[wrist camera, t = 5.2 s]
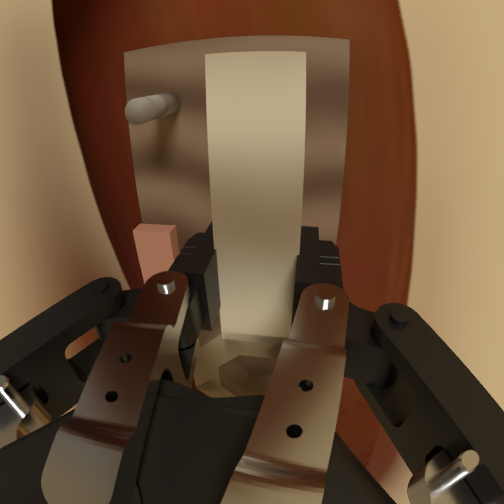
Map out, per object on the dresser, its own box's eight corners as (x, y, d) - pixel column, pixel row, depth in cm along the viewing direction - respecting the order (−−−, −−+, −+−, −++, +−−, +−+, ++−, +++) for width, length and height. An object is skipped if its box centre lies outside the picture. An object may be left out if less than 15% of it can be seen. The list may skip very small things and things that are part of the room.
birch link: (316, 368, 17) (314, 420, 14) (216, 358, 17) (200, 406, 14) (348, 67, 9) (366, 57, 6) (194, 66, 10) (152, 61, 7)
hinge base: (129, 52, 21) (83, 51, 16) (347, 41, 19) (362, 27, 13) (157, 272, 32) (130, 312, 27) (328, 287, 30) (330, 336, 24)
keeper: (163, 201, 27) (132, 230, 22) (195, 201, 26) (169, 232, 22) (173, 268, 30) (149, 305, 26) (202, 271, 30) (182, 309, 25)
